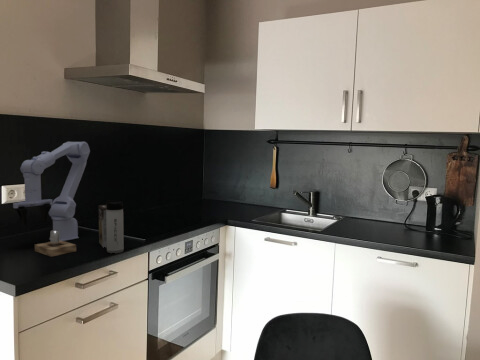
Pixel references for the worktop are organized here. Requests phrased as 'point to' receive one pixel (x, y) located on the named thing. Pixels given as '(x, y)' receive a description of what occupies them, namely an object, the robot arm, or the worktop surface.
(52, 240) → the metal peg
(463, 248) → the worktop surface
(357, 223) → the worktop surface
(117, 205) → the travel mug
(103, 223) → the coffee box
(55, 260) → the worktop surface
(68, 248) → the socket plate
